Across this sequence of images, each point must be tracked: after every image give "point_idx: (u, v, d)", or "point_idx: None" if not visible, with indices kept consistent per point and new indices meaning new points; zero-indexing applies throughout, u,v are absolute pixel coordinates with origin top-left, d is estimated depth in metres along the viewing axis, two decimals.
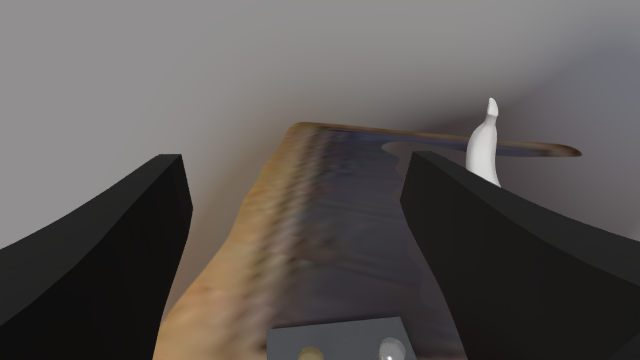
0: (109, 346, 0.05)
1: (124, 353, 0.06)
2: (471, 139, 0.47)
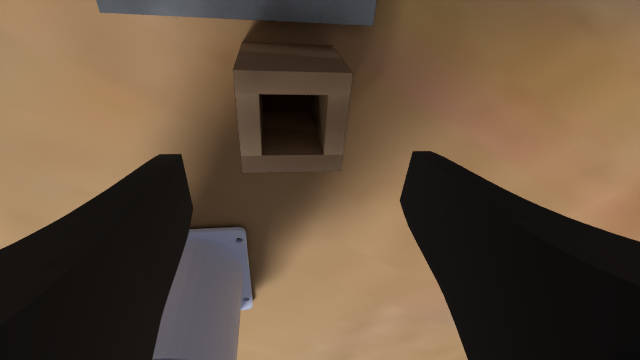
0: (109, 346, 0.05)
1: (124, 353, 0.06)
2: None
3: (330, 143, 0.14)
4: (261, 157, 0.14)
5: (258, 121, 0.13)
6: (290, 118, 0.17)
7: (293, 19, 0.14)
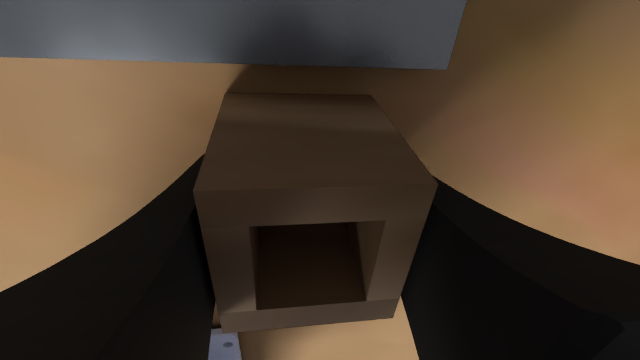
0: (185, 339, 0.05)
1: (193, 346, 0.06)
2: None
3: (380, 286, 0.08)
4: (256, 312, 0.08)
5: (249, 266, 0.07)
6: None
7: (313, 61, 0.08)
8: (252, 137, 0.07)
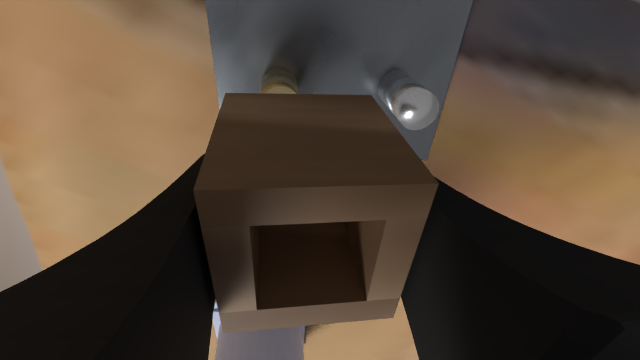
0: (185, 339, 0.05)
1: (193, 346, 0.06)
2: None
3: (380, 285, 0.08)
4: (256, 311, 0.08)
5: (249, 266, 0.07)
6: None
7: None
8: (252, 136, 0.07)
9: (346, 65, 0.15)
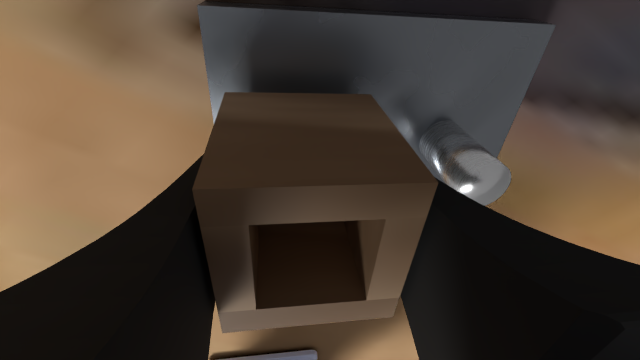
0: (185, 339, 0.05)
1: (193, 346, 0.06)
2: None
3: (380, 285, 0.08)
4: (255, 311, 0.08)
5: (249, 265, 0.07)
6: None
7: None
8: (252, 136, 0.07)
9: None
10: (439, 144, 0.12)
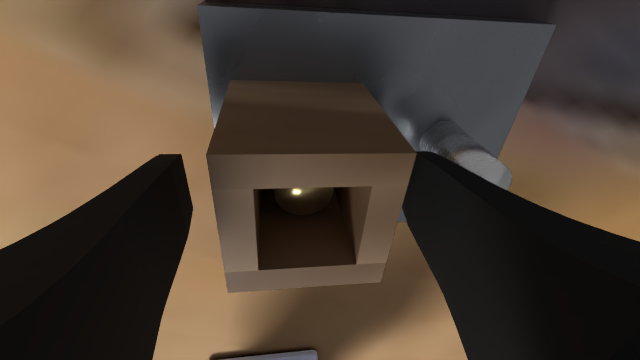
0: (109, 346, 0.05)
1: (124, 353, 0.06)
2: None
3: (368, 250, 0.09)
4: (258, 272, 0.09)
5: (253, 227, 0.08)
6: None
7: (400, 220, 0.15)
8: (256, 115, 0.08)
9: None
10: (439, 144, 0.12)
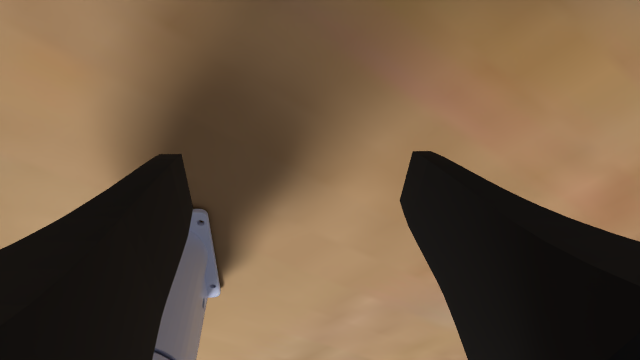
0: (109, 346, 0.05)
1: (124, 353, 0.06)
2: None
3: None
4: None
5: None
6: None
7: None
8: None
9: None
10: None
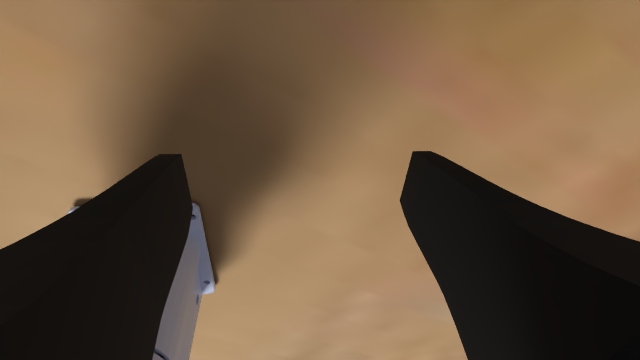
0: (109, 346, 0.05)
1: (124, 353, 0.06)
2: None
3: None
4: None
5: None
6: None
7: None
8: None
9: None
10: None
